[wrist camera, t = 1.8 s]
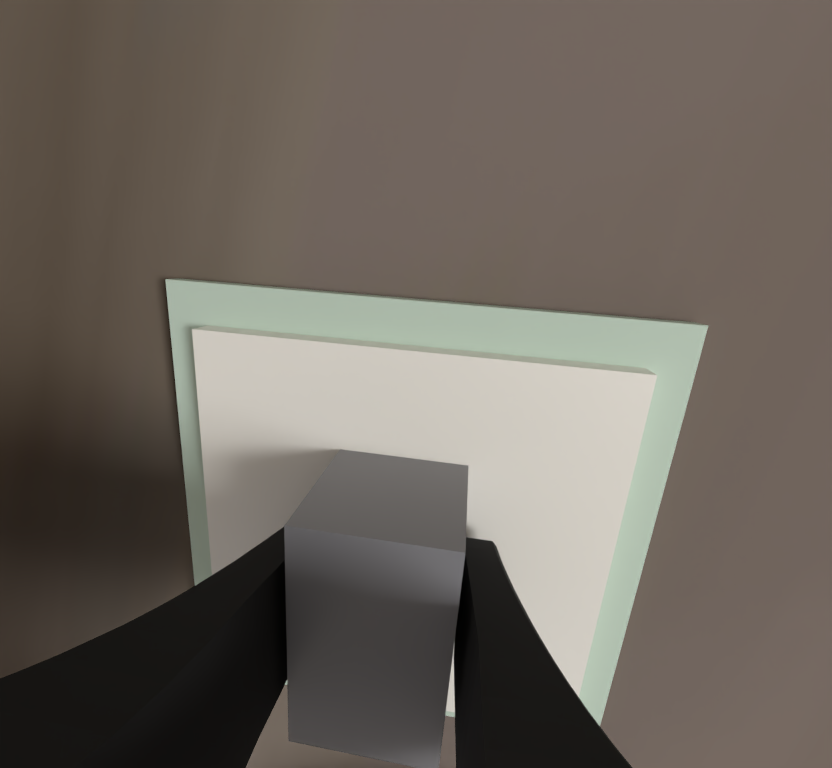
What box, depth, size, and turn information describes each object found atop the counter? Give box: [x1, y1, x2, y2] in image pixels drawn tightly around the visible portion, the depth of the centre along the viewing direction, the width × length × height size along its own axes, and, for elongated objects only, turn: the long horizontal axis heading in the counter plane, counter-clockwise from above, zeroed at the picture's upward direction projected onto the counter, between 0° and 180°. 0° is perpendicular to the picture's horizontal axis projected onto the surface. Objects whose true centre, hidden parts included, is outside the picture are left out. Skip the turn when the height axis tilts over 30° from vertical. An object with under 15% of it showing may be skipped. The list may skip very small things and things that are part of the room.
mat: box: [165, 278, 708, 726], centre depth 11 cm, size 12×12×1 cm
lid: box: [192, 325, 657, 768], centre depth 9 cm, size 10×10×4 cm
